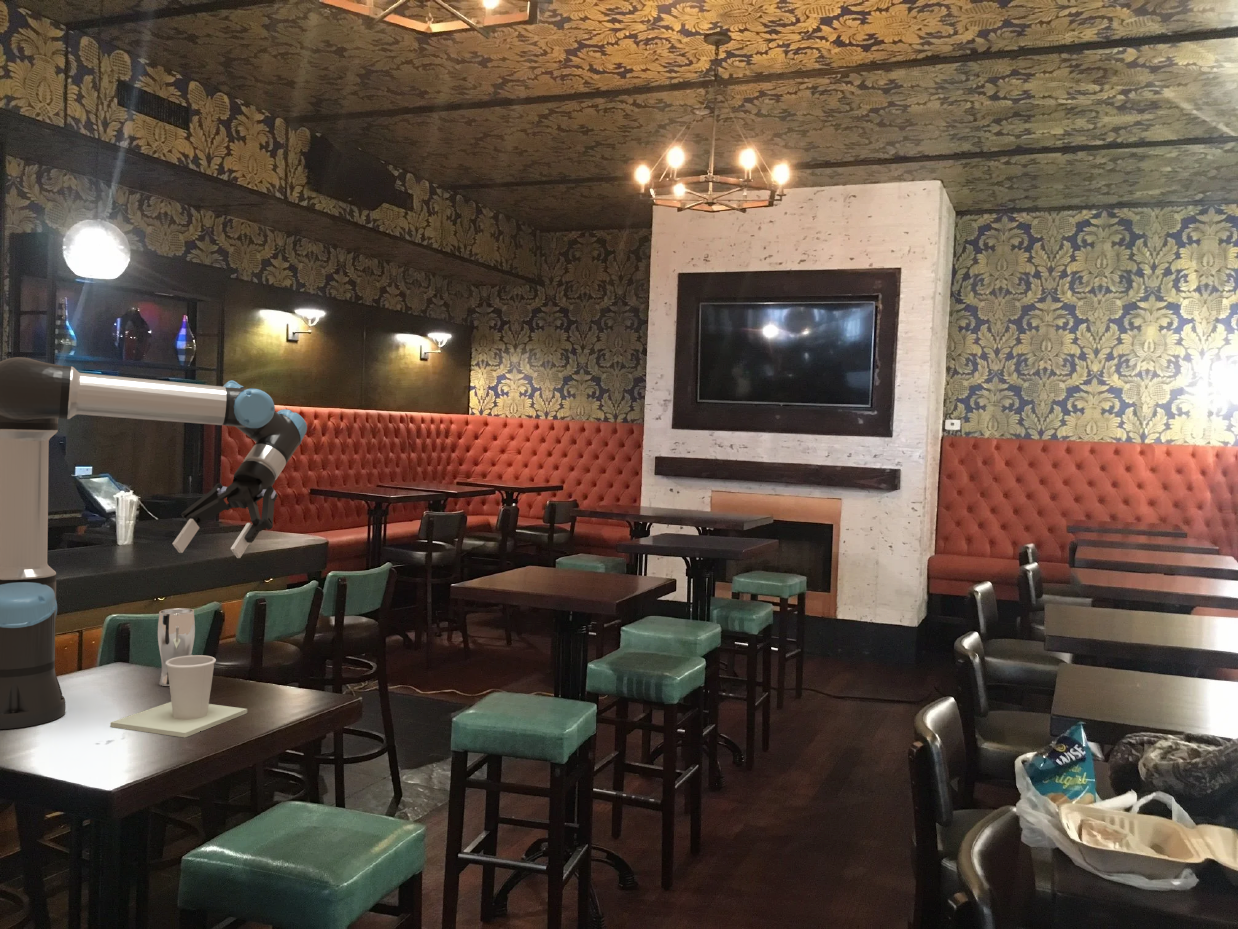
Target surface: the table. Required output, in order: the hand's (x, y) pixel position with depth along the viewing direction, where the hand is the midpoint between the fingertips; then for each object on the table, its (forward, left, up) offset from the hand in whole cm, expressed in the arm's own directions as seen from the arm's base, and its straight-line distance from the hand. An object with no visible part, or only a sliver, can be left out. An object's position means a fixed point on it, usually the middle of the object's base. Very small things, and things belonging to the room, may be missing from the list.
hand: (205, 551), depth 190 cm
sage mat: (+5, -11, -29) cm, 32 cm away
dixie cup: (+6, -11, -28) cm, 31 cm away
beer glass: (-14, +9, -29) cm, 34 cm away
